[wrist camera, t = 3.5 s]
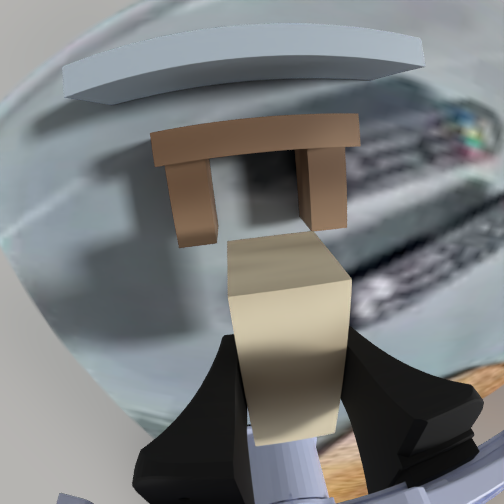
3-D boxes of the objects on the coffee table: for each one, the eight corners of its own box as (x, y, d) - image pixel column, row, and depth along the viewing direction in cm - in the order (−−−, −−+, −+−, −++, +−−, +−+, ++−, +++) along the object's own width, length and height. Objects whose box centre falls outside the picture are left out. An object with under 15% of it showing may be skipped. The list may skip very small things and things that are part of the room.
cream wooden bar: (313, 369, 16) (334, 432, 12) (248, 379, 16) (255, 446, 12) (312, 231, 13) (352, 279, 9) (227, 241, 13) (227, 296, 8)
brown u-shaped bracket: (330, 213, 19) (361, 240, 14) (186, 230, 18) (172, 263, 14) (324, 117, 16) (358, 113, 12) (171, 132, 16) (149, 133, 12)
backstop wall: (371, 80, 16) (425, 66, 10) (111, 105, 15) (64, 97, 10) (368, 58, 15) (420, 38, 10) (109, 82, 15) (62, 66, 9)
